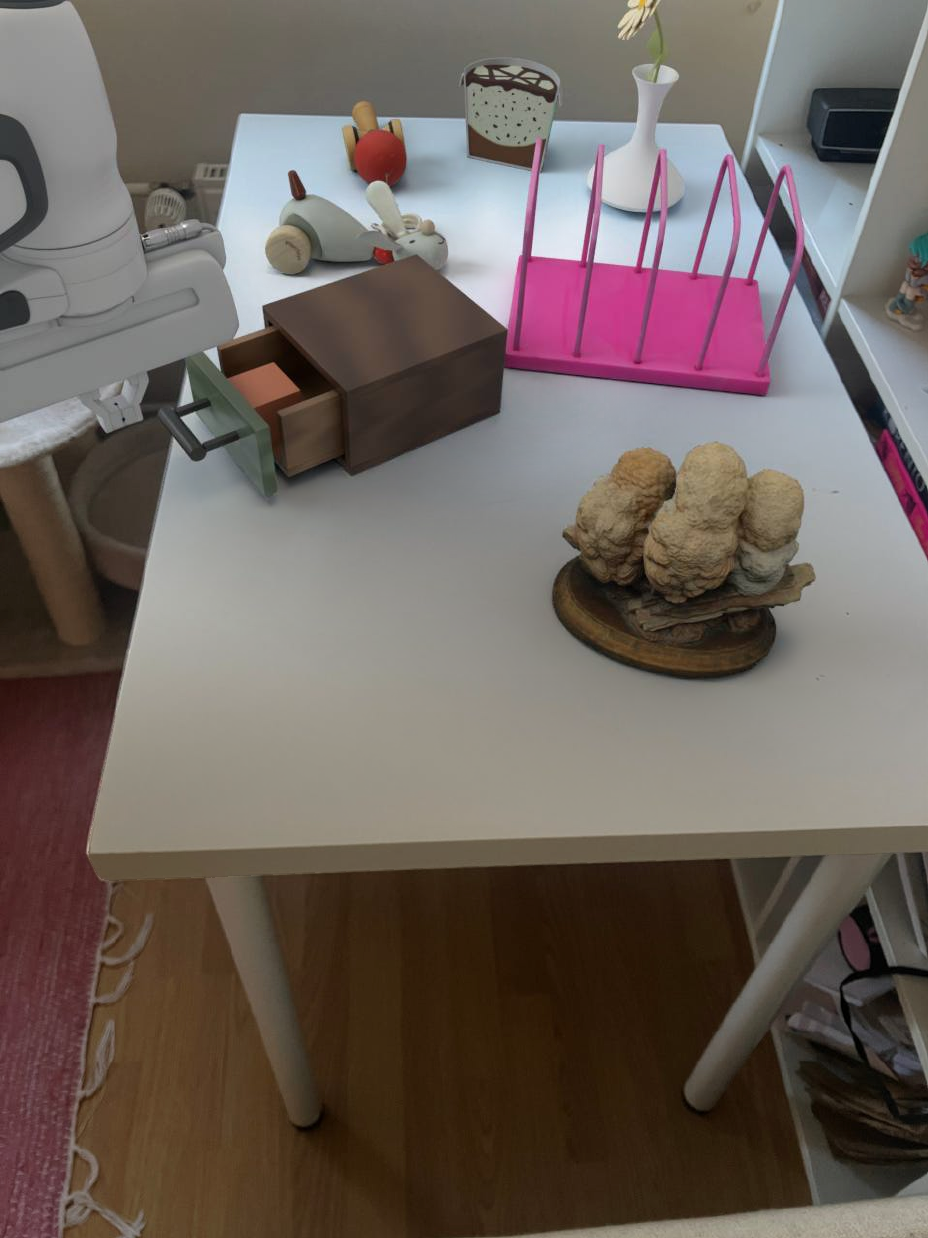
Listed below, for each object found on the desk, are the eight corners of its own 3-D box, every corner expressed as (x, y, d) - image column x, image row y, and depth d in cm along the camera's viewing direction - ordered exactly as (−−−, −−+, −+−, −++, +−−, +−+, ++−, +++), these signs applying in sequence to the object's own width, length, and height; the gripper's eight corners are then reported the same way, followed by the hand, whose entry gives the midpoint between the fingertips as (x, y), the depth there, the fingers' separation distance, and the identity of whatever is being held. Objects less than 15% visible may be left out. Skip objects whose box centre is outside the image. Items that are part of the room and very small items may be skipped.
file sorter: (517, 269, 106) (531, 118, 94) (753, 294, 106) (798, 145, 93) (502, 368, 95) (516, 211, 83) (766, 397, 94) (819, 242, 82)
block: (257, 452, 83) (250, 408, 80) (231, 422, 85) (224, 379, 82) (304, 433, 85) (300, 390, 81) (278, 404, 87) (273, 361, 84)
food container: (566, 153, 124) (577, 67, 116) (552, 175, 120) (563, 87, 112) (472, 133, 126) (476, 47, 118) (455, 154, 122) (459, 67, 115)
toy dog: (453, 281, 105) (457, 198, 98) (273, 299, 101) (264, 214, 94) (427, 221, 112) (428, 140, 105) (259, 235, 108) (249, 152, 102)
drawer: (216, 518, 80) (203, 451, 74) (149, 431, 86) (132, 363, 81) (414, 435, 87) (415, 369, 82) (339, 360, 93) (336, 294, 88)
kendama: (328, 138, 126) (345, 189, 113) (333, 83, 122) (352, 130, 109) (388, 147, 128) (412, 198, 115) (396, 94, 124) (421, 140, 111)
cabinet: (351, 476, 85) (346, 391, 78) (272, 389, 92) (261, 305, 85) (500, 412, 91) (508, 329, 84) (415, 336, 98) (416, 253, 91)
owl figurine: (788, 586, 79) (865, 414, 66) (780, 704, 72) (865, 537, 59) (565, 537, 81) (596, 361, 68) (535, 647, 74) (563, 474, 61)
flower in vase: (603, 165, 122) (640, -75, 103) (693, 188, 120) (748, -54, 100) (565, 212, 115) (597, -37, 95) (660, 238, 112) (713, -13, 93)
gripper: (198, 192, 71) (226, 356, 82) (-101, 278, 63) (-26, 447, 74) (239, 232, 68) (264, 397, 78) (-70, 327, 60) (4, 497, 70)
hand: (121, 422), depth 76 cm, fingers closed
